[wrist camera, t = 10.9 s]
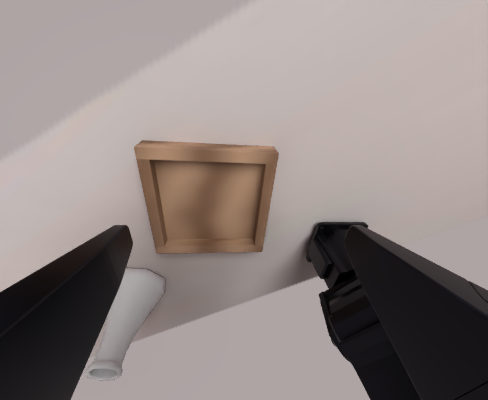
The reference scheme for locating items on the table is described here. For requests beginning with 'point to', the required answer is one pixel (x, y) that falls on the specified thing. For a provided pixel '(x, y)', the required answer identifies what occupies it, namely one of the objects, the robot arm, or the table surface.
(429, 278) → the robot arm
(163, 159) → the tray
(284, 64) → the table surface
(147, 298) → the flask
